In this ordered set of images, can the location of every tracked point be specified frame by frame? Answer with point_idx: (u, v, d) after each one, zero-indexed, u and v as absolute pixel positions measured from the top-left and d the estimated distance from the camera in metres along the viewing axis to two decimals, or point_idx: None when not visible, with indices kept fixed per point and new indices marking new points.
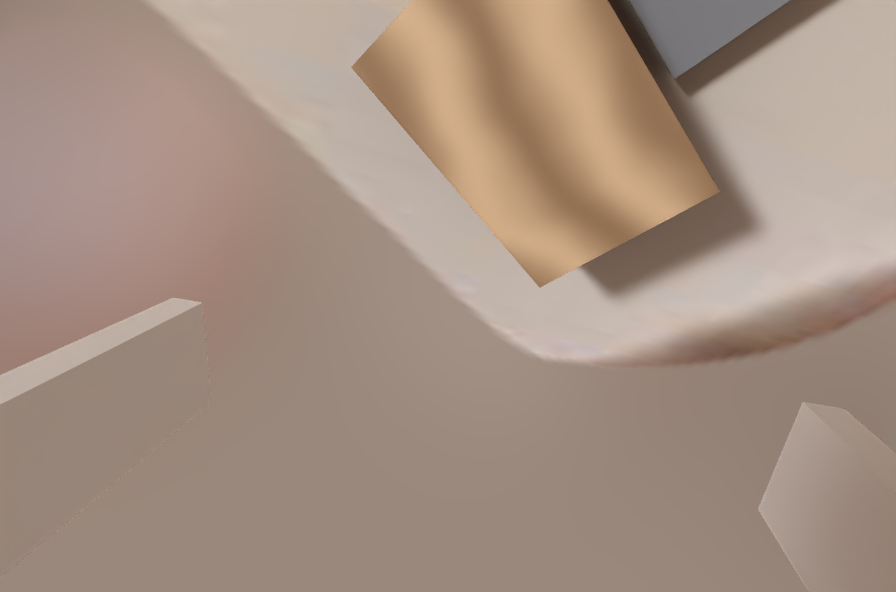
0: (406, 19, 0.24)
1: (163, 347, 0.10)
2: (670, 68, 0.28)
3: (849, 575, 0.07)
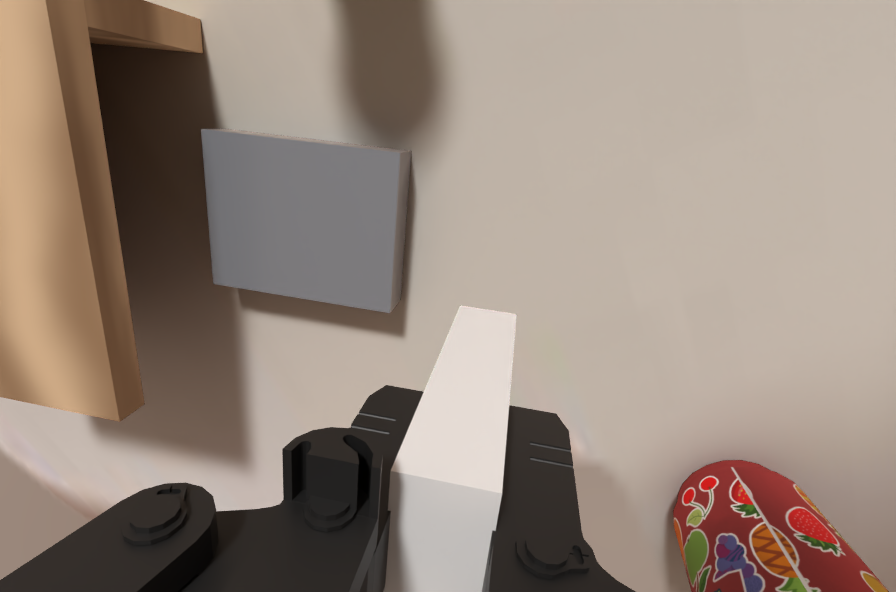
0: None
1: None
2: (213, 271, 0.25)
3: None
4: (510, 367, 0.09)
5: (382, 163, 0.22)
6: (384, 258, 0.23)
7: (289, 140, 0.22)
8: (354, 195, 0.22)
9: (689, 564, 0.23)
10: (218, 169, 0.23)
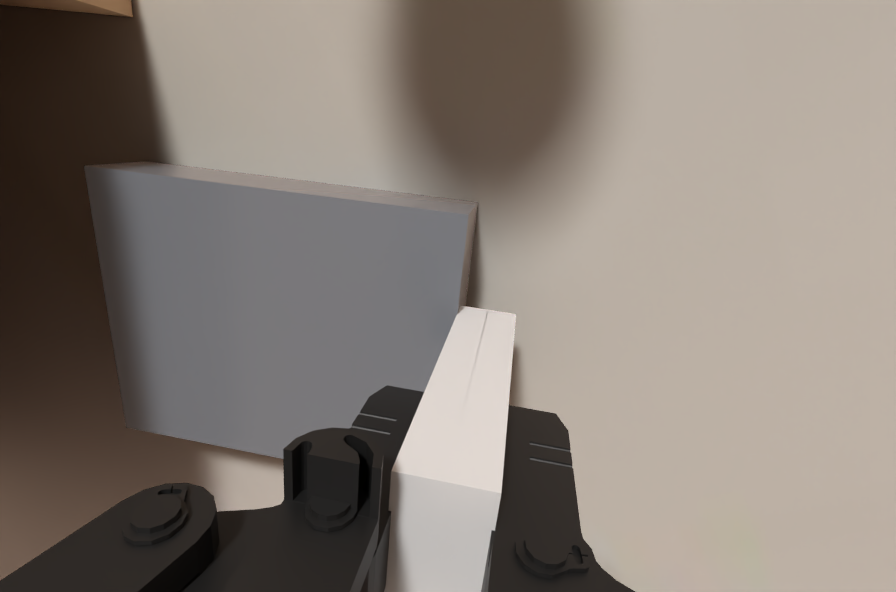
0: None
1: None
2: (125, 408, 0.14)
3: None
4: (510, 367, 0.09)
5: (431, 233, 0.11)
6: None
7: (250, 188, 0.11)
8: (375, 290, 0.12)
9: None
10: (120, 238, 0.12)
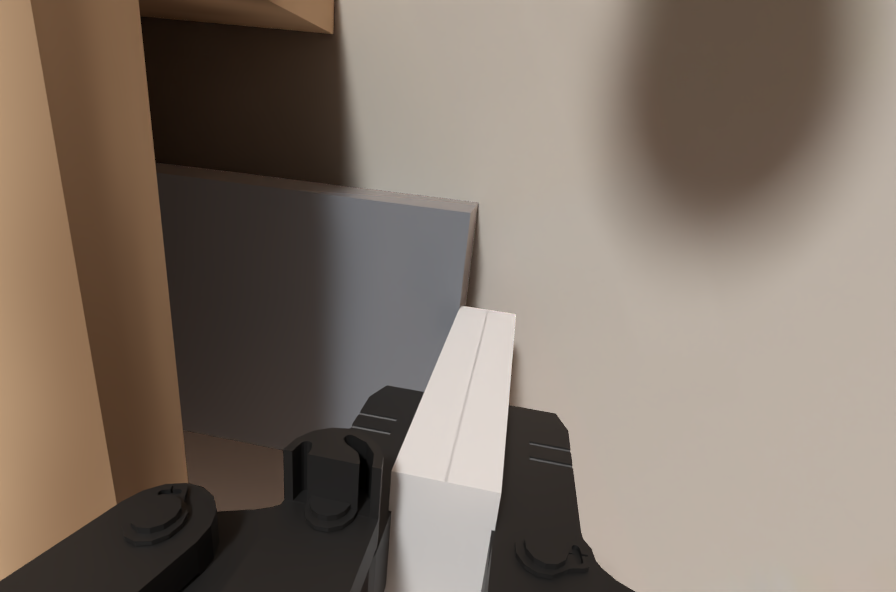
0: None
1: None
2: None
3: None
4: (509, 367, 0.09)
5: (434, 231, 0.11)
6: None
7: (258, 187, 0.12)
8: (379, 286, 0.12)
9: None
10: None
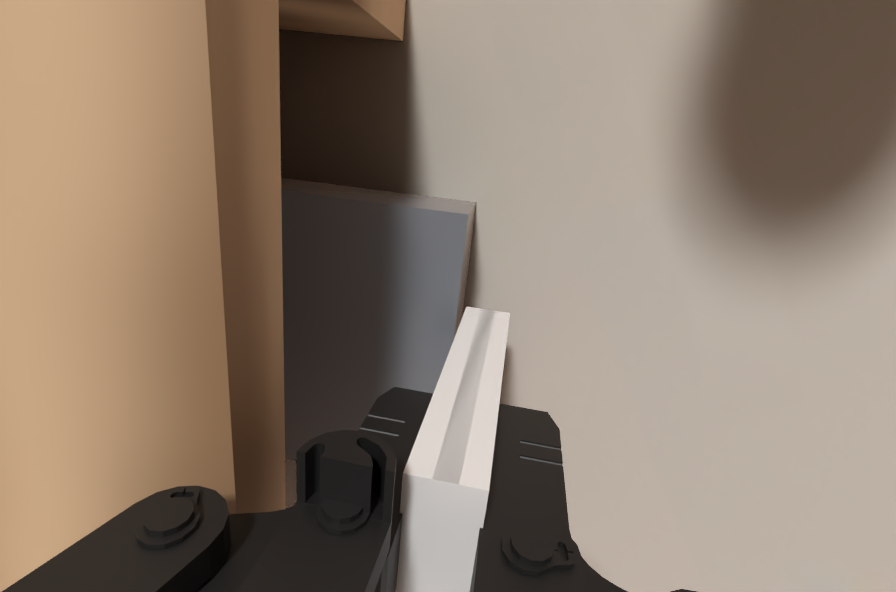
0: None
1: None
2: None
3: None
4: (502, 366, 0.09)
5: (432, 233, 0.11)
6: None
7: None
8: (375, 289, 0.12)
9: None
10: None
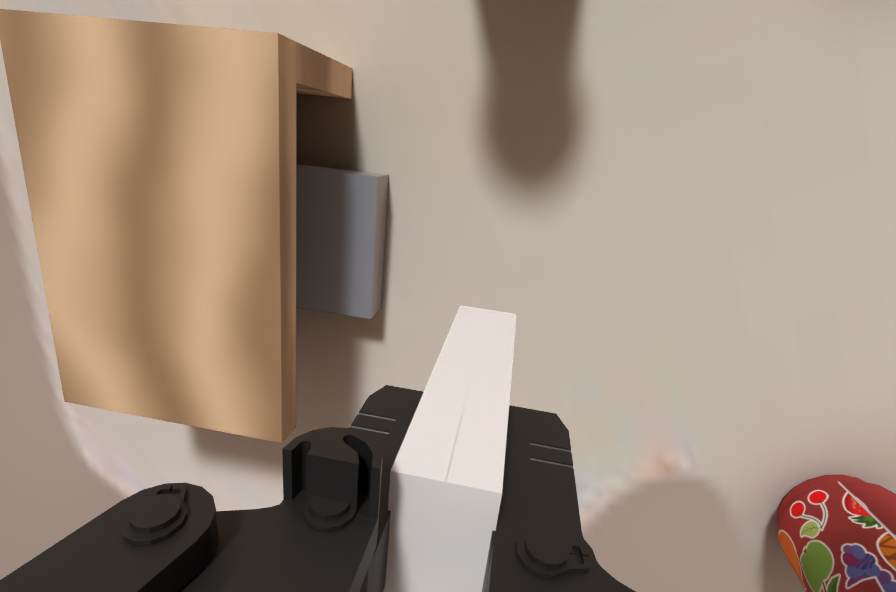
0: (86, 28, 0.18)
1: None
2: None
3: None
4: (510, 367, 0.09)
5: (362, 185, 0.25)
6: (365, 269, 0.26)
7: None
8: (337, 213, 0.25)
9: (810, 573, 0.24)
10: None
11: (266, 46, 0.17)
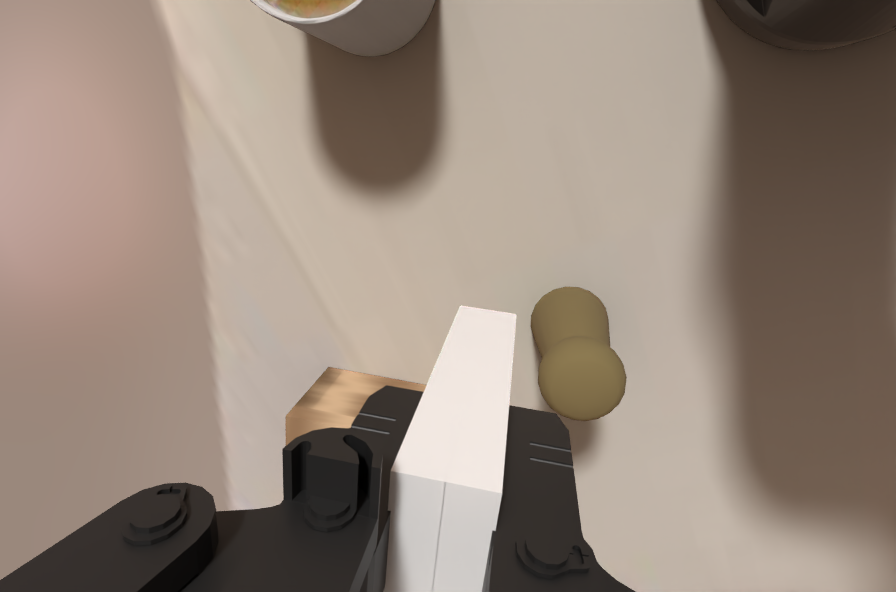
0: None
1: None
2: None
3: None
4: (510, 367, 0.09)
5: None
6: None
7: None
8: None
9: None
10: None
11: None
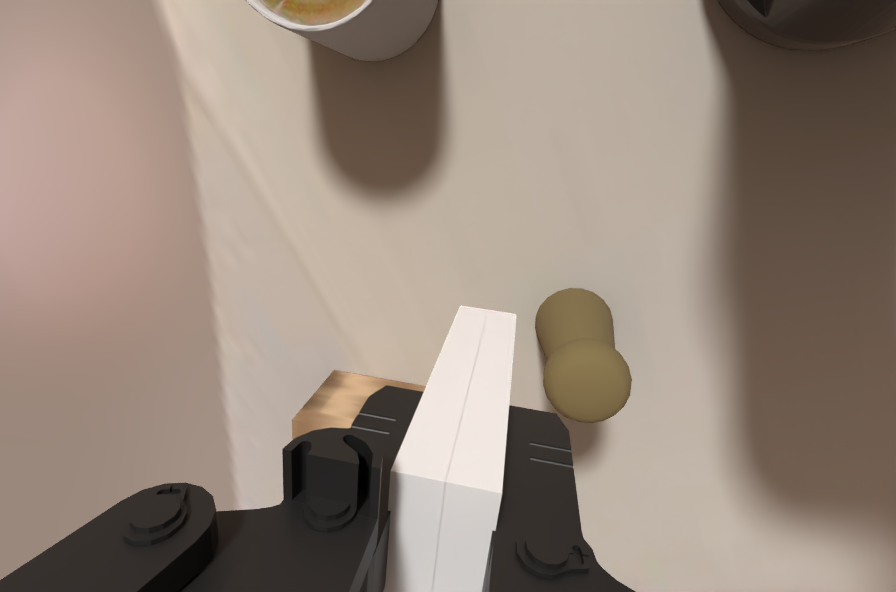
0: None
1: None
2: None
3: None
4: (510, 367, 0.09)
5: None
6: None
7: None
8: None
9: None
10: None
11: None
